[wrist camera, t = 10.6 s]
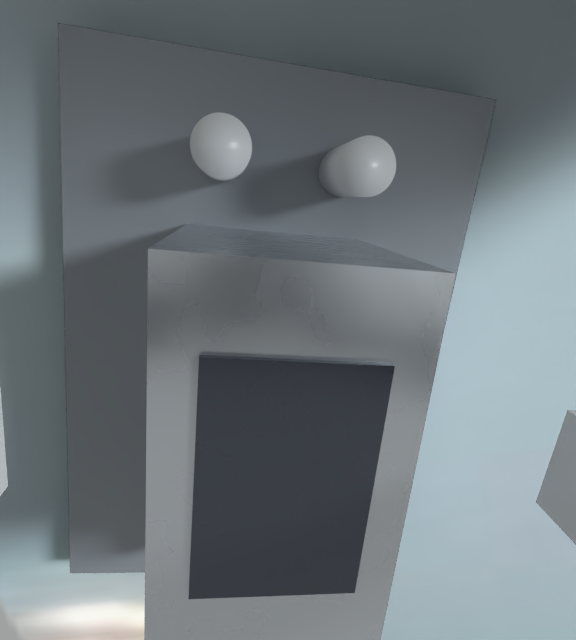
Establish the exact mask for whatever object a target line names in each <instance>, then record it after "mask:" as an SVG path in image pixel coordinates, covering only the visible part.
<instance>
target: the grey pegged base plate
mask: <svg viewBox="0 0 576 640" xmlns="http://www.w3.org/2000/svg"><path fill="white" fill-rule="evenodd" d="M58 45H59V91H60V136H61V182H62V228H63V274H64V319H65V365H66V411H67V457H68V502H69V548H70V573H126V572H145V531H146V415H147V298H148V248H150V247H151V246H153V245H154V244H156V243H158V242H159V241H161V240H162V239H164V238H165V237H167V236H169V235H170V234H172V233H173V232H175V231H176V230H178V229H180V228H181V227H183V226H184V225H186V224H194V225H205V226H216V227H227V228H238V229H249V230H261V231H272V232H283V233H294V234H305V235H316V236H327V237H338V238H350V239H359V240H361V241H364V242H367V243H370V244H373V245H376V246H379V247H381V248H384V249H387V250H390V251H393V252H396V253H399V254H402V255H404V256H407V257H410V258H413V259H416V260H419V261H422V262H424V263H427V264H430V265H433V266H436V267H439V268H442V269H444V270H447V271H450V272H453V273H455V278H454V283H453V288H454V284H455V280H456V275H457V271H458V266H459V262H460V258H461V253H462V249H463V244H464V240H465V236H466V231H467V227H468V222H469V218H470V213H471V209H472V205H473V200H474V196H475V191H476V187H477V183H478V178H479V174H480V169H481V165H482V161H483V156H484V152H485V147H486V143H487V138H488V134H489V130H490V125H491V121H492V116H493V112H494V108H495V103H496V99H490V98H484V97H479V96H473V95H467V94H461V93H456V92H450V91H444V90H439V89H433V88H427V87H421V86H416V85H410V84H404V83H398V82H393V81H387V80H381V79H376V78H370V77H364V76H358V75H353V74H347V73H341V72H335V71H330V70H324V69H318V68H312V67H307V66H301V65H295V64H290V63H284V62H278V61H272V60H267V59H261V58H255V57H249V56H244V55H238V54H232V53H227V52H221V51H215V50H209V49H204V48H198V47H192V46H186V45H181V44H175V43H169V42H163V41H158V40H152V39H146V38H141V37H135V36H129V35H123V34H118V33H112V32H106V31H100V30H95V29H89V28H83V27H78V26H72V25H66V24H60V23H58ZM453 288H452V293H453ZM452 293H451V297H452ZM450 302H451V298H450ZM449 306H450V303H449ZM448 310H449V308H448ZM447 315H448V312H447ZM446 319H447V317H446ZM445 324H446V322H445ZM444 328H445V327H444ZM443 333H444V332H443Z"/></svg>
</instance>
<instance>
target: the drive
mask: <svg viewBox="0 0 576 640" xmlns="http://www.w3.org/2000/svg"><path fill="white" fill-rule="evenodd" d="M454 278H455V273H453V272H450V271H447V270H444V269H442V268H439V267H436V266H433V265H430V264H427V263H424V262H422V261H419V260H416V259H413V258H410V257H407V256H404V255H402V254H399V253H396V252H393V251H390V250H387V249H384V248H381V247H379V246H376V245H373V244H370V243H367V242H364V241H361V240H359V239H350V238H338V237H327V236H316V235H305V234H294V233H283V232H272V231H261V230H249V229H238V228H227V227H216V226H205V225H194V224H186V225H184V226H183V227H181V228H180V229H178V230H176V231H175V232H173V233H172V234H170V235H169V236H167V237H165V238H164V239H162V240H161V241H159V242H158V243H156V244H154V245H153V246H151V247H150V248H148V298H147V415H146V531H145V640H380V639H381V634H382V629H383V625H384V620H385V615H386V610H387V605H388V600H389V595H390V590H391V586H392V581H393V576H394V571H395V566H396V561H397V556H398V551H399V547H400V542H401V537H402V532H403V527H404V522H405V517H406V512H407V508H408V503H409V498H410V493H411V488H412V483H413V478H414V473H415V469H416V464H417V459H418V454H419V449H420V444H421V439H422V434H423V430H424V425H425V420H426V415H427V410H428V405H429V400H430V395H431V391H432V386H433V381H434V376H435V371H436V366H437V361H438V356H439V352H440V347H441V342H442V337H443V332H444V327H445V322H446V317H447V312H448V308H449V303H450V298H451V293H452V288H453V283H454Z"/></svg>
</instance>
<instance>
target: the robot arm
mask: <svg viewBox="0 0 576 640" xmlns="http://www.w3.org/2000/svg"><path fill="white" fill-rule="evenodd" d="M7 487H8V478H7V465H6V453H5V440H4V427H3V414H2V401H1V389H0V496H1V495H2V493H3V492H4V491H5V489H6V488H7ZM536 503H537V504H538V505H539V506H540V507H541V508H542V509H543V510H544V511H545V512H546V513H547V514H548V515H549V516H550V518H551V519H552V520H553V521H554V522H555V523H556V524H557V525H558V526H559V527H560V528H561V529H562V530H563V531H564V533H565V534H566V535H567V536H568V537H569V538H570V539H571V540H572V541H573V542H574V543H575V544H576V411H573V410H567V413H566V416H565V419H564V422H563V425H562V428H561V431H560V434H559V436H558V439H557V442H556V445H555V448H554V451H553V454H552V457H551V460H550V463H549V466H548V468H547V471H546V474H545V477H544V480H543V483H542V486H541V489H540V492H539V495H538V498H537V500H536Z"/></svg>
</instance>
